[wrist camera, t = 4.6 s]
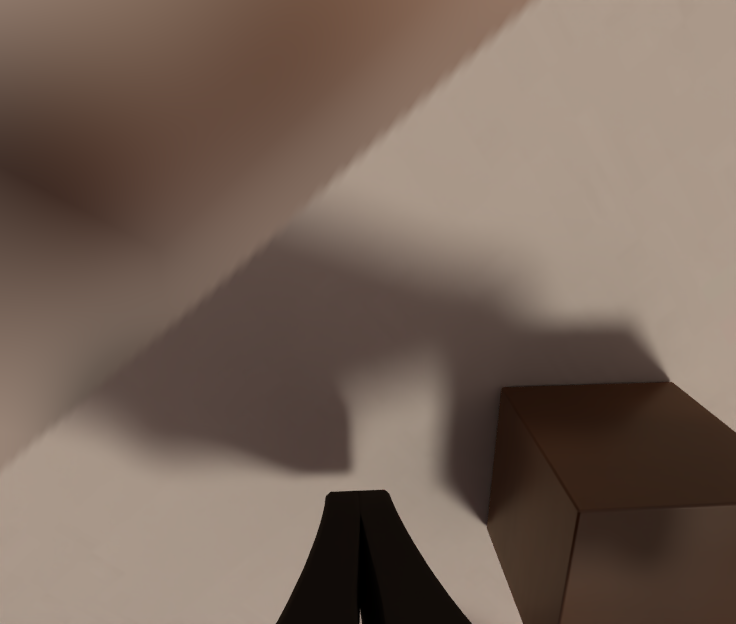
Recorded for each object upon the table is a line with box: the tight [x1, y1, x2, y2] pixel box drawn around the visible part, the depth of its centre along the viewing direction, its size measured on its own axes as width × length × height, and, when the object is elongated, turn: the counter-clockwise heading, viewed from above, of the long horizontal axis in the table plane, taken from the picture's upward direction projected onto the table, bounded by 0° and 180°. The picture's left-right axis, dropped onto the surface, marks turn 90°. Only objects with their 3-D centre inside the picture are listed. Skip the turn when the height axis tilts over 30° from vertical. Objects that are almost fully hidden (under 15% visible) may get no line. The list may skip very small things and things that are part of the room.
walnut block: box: [487, 382, 736, 624], centre depth 12 cm, size 4×4×4 cm
